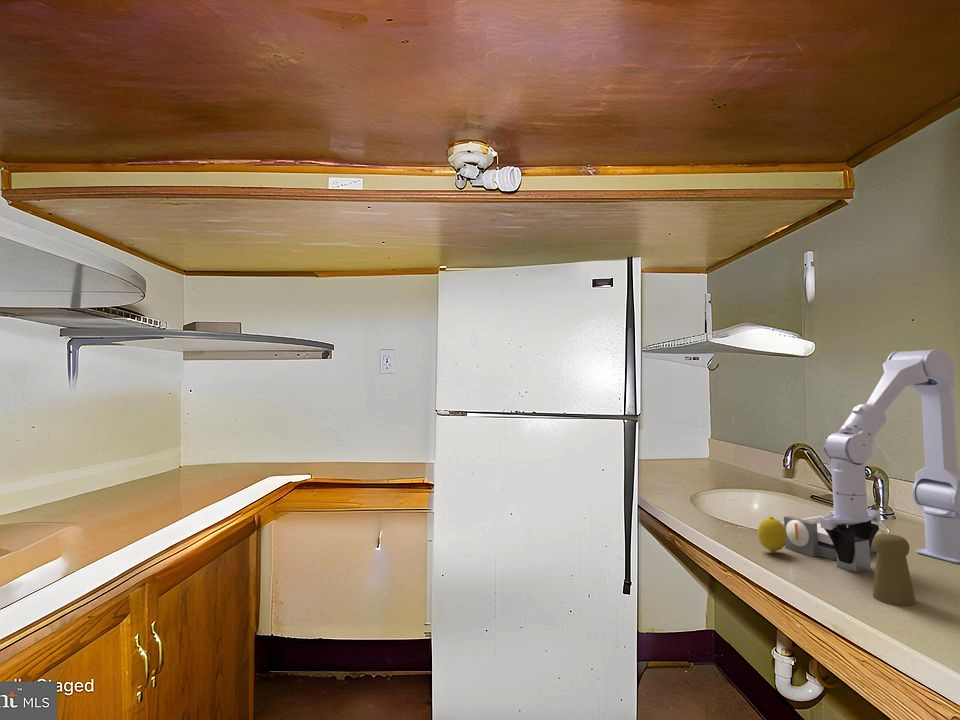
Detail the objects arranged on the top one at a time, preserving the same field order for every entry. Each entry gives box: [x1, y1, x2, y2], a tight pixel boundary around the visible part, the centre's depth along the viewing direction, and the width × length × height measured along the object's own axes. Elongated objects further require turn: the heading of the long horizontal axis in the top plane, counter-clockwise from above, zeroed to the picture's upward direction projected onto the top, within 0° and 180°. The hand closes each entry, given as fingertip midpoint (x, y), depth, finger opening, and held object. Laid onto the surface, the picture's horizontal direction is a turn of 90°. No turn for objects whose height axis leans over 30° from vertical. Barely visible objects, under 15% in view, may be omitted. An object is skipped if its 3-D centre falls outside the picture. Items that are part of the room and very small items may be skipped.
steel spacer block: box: [836, 536, 872, 574], centre depth 111 cm, size 4×4×6 cm
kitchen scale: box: [780, 515, 877, 561], centre depth 125 cm, size 16×14×7 cm
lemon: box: [757, 516, 786, 554], centre depth 122 cm, size 6×6×8 cm
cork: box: [872, 533, 917, 607], centre depth 96 cm, size 6×6×11 cm
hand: (853, 560), depth 111 cm, fingers closed on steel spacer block, 4 cm apart
